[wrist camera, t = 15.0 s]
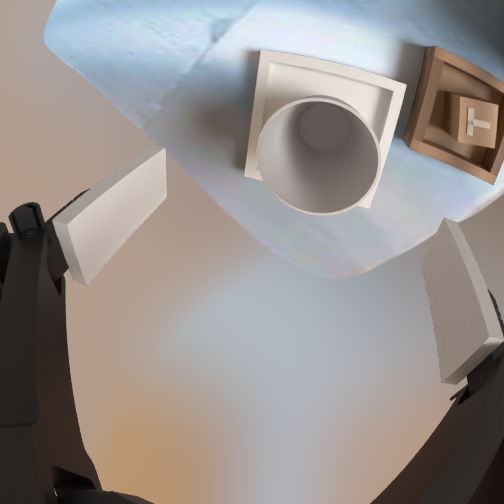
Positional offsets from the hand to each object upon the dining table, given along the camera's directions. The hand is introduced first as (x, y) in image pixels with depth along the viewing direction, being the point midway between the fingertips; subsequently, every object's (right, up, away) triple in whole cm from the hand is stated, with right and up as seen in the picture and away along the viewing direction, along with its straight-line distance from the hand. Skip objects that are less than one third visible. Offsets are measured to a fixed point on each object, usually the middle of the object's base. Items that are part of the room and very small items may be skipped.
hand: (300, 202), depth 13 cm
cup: (+5, +10, +13) cm, 17 cm away
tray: (+5, +10, +14) cm, 17 cm away
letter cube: (+18, +11, +8) cm, 22 cm away
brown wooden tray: (+18, +11, +8) cm, 22 cm away
